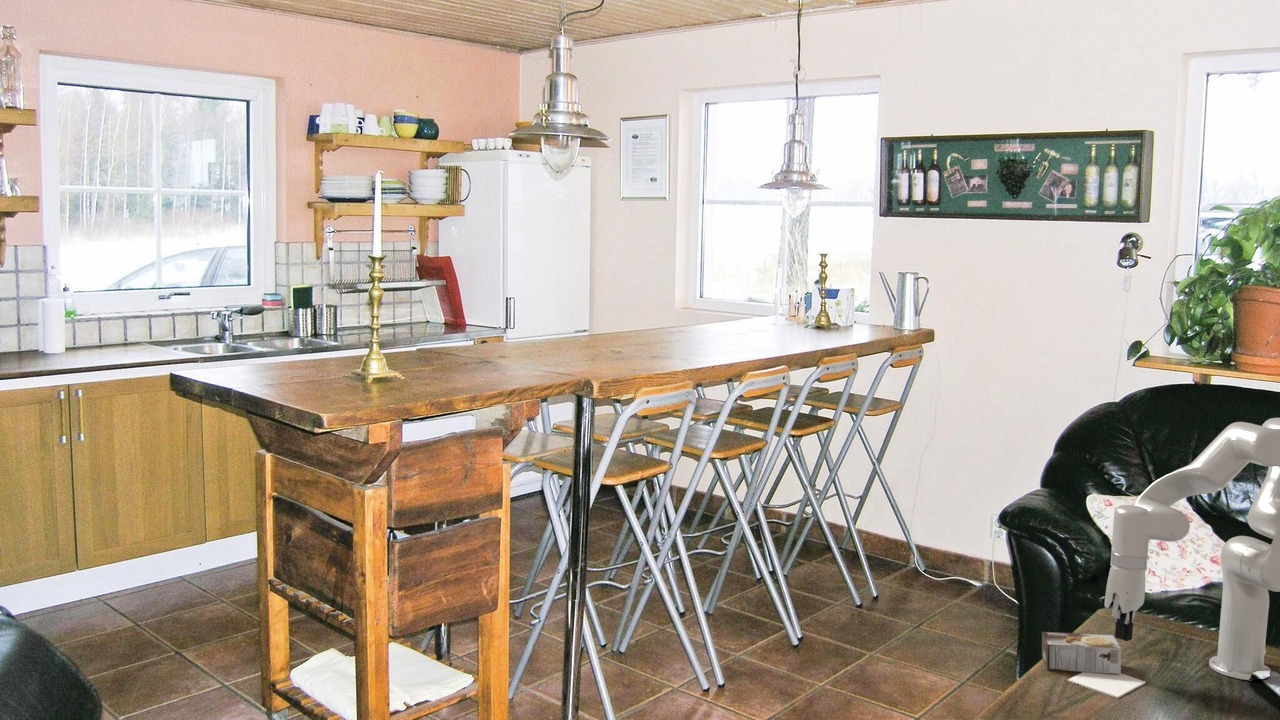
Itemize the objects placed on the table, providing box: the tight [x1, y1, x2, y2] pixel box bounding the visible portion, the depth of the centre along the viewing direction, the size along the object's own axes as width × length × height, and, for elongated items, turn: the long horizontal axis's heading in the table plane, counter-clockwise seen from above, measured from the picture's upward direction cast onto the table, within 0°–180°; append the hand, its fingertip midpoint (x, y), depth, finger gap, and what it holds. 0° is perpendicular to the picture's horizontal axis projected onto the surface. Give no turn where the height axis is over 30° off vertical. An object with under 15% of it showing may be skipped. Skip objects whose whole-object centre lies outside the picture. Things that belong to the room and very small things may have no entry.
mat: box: [1067, 672, 1147, 699], centre depth 246 cm, size 13×12×1 cm
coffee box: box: [1041, 631, 1122, 674], centre depth 255 cm, size 9×6×16 cm
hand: (1123, 638), depth 248 cm, fingers closed
